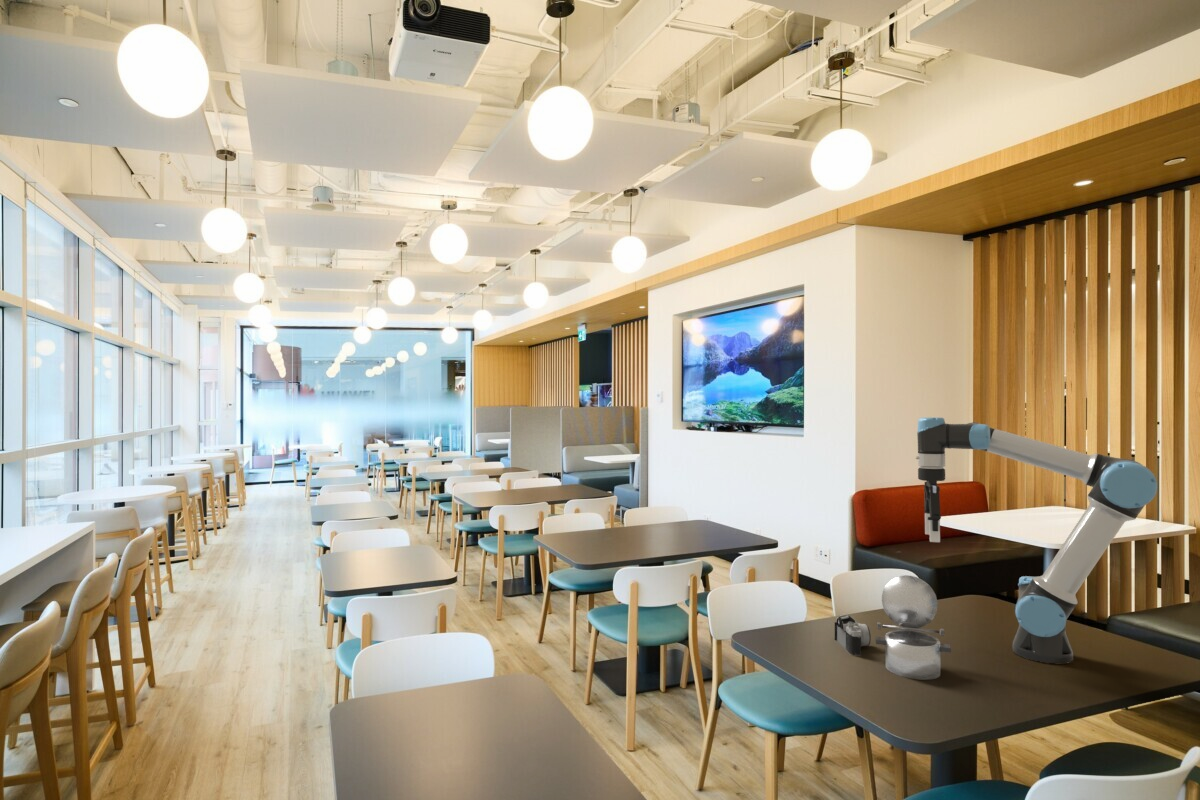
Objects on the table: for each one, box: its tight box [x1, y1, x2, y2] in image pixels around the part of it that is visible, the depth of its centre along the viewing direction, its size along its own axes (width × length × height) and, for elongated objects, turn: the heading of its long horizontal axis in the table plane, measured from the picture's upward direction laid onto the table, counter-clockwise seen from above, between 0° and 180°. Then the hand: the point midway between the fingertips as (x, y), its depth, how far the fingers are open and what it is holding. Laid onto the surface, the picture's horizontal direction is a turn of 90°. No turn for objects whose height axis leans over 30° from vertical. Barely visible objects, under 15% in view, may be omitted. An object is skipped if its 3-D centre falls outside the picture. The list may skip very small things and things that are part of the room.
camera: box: [834, 613, 872, 656], centre depth 207 cm, size 16×9×10 cm, turn 179°
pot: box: [875, 621, 952, 681], centre depth 189 cm, size 16×19×10 cm
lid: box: [881, 574, 940, 634], centre depth 199 cm, size 16×15×3 cm
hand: (932, 538), depth 206 cm, fingers open, 12 cm apart
